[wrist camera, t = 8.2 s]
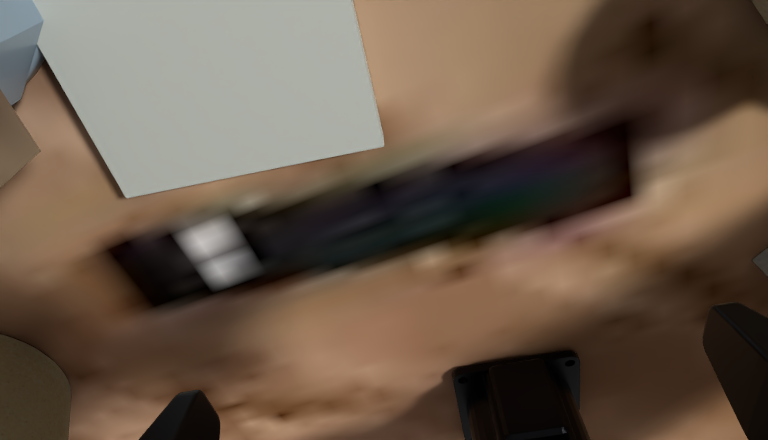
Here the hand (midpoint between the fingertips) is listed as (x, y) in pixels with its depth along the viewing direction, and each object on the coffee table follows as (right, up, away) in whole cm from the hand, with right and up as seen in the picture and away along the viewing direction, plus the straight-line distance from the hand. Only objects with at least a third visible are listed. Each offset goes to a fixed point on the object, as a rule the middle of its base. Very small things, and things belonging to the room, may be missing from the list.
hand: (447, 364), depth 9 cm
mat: (-7, +9, +8) cm, 14 cm away
